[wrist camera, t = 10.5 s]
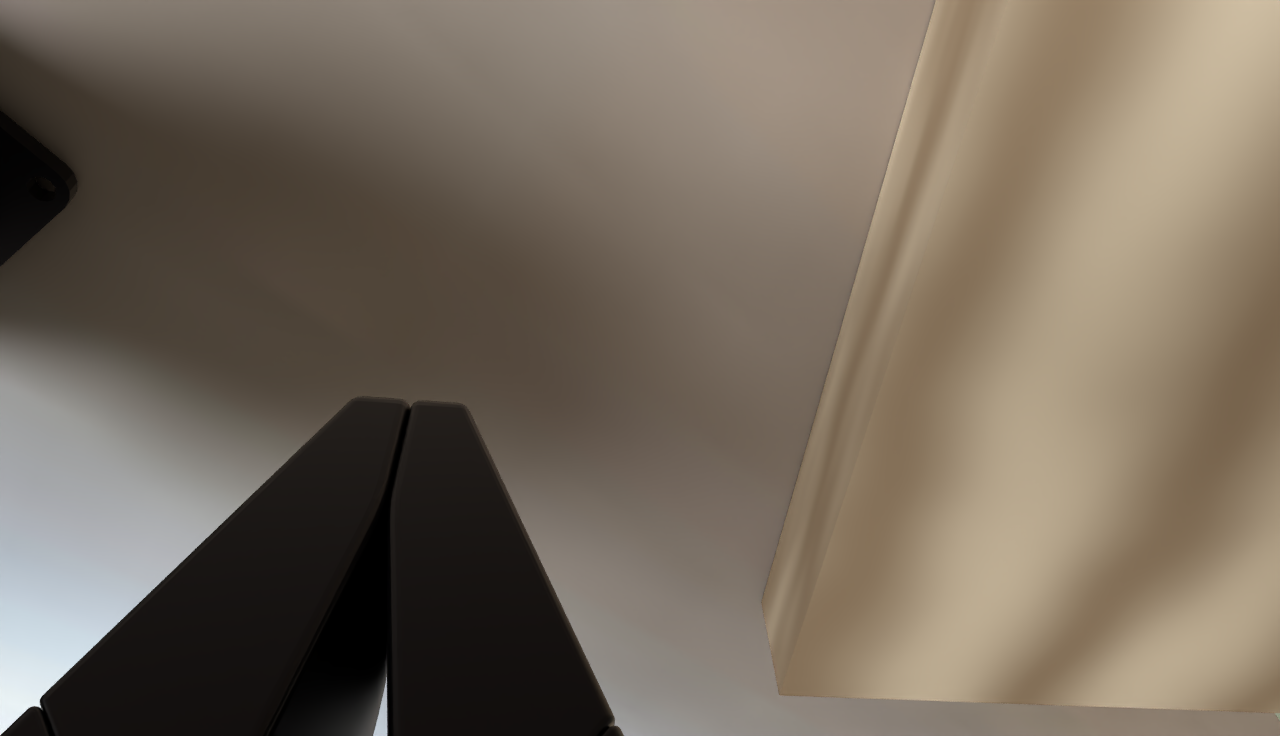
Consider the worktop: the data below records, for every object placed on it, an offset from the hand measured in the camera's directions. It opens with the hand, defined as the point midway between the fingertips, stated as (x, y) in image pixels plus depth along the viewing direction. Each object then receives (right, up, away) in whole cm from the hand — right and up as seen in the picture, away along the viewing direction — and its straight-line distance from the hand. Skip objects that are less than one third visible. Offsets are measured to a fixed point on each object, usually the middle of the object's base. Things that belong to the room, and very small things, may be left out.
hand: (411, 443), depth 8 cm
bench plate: (+13, +3, +15) cm, 20 cm away
